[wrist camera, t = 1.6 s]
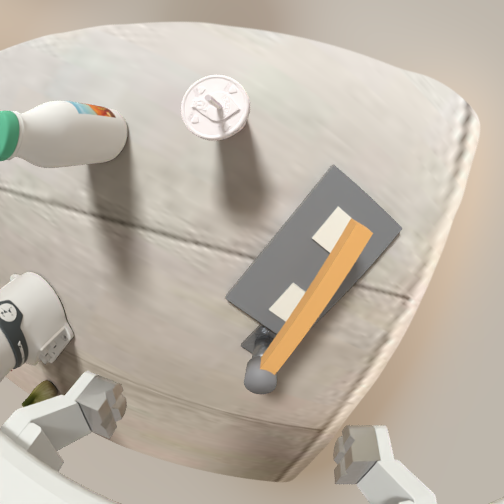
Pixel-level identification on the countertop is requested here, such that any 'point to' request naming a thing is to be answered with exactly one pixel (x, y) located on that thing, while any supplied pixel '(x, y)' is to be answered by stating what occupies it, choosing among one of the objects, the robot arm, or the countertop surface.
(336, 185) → the tray
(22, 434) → the robot arm
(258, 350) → the pivot post
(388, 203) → the countertop surface
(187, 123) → the smoothie
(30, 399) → the fennel bulb
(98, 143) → the milk bottle
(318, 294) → the strip
